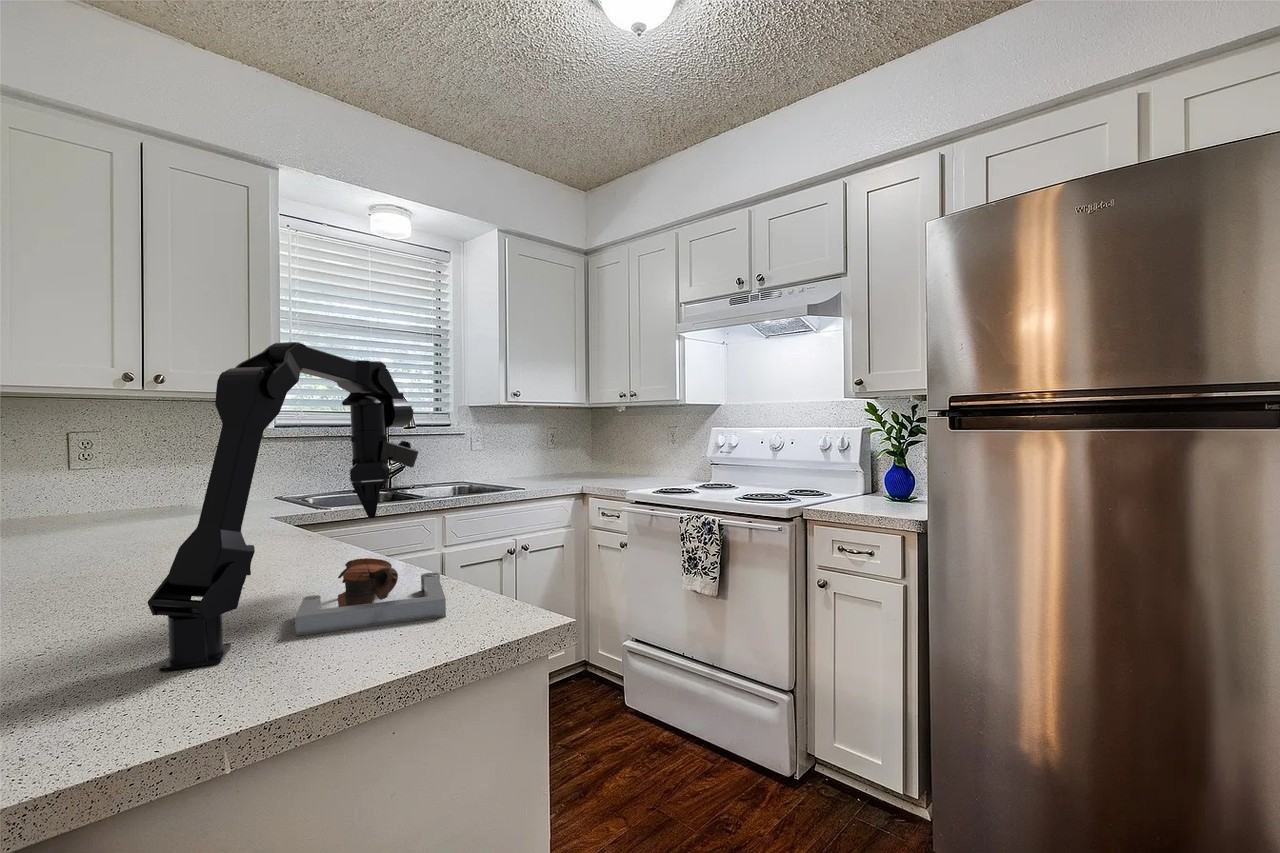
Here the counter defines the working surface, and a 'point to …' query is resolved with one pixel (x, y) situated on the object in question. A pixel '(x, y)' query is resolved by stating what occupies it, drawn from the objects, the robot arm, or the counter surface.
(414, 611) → the hook
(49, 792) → the counter surface
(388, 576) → the pottery mug
